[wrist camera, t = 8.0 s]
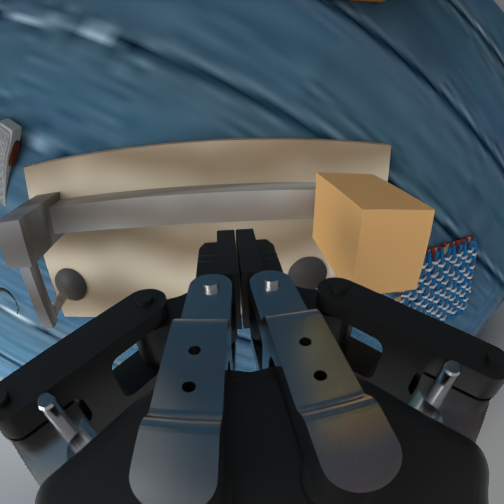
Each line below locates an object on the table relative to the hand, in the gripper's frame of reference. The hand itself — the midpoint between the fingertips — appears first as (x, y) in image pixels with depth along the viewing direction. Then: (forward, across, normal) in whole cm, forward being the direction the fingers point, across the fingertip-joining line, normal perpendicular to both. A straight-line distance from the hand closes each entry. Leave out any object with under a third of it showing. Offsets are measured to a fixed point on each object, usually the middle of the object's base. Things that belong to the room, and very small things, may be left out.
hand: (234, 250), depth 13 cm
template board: (+10, +2, +4) cm, 11 cm away
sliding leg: (+7, -7, +3) cm, 11 cm away
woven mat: (+11, -21, +11) cm, 26 cm away
